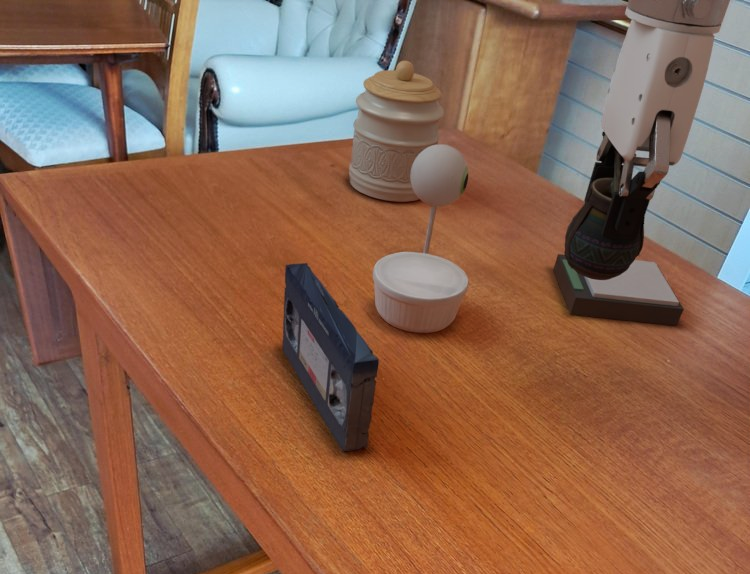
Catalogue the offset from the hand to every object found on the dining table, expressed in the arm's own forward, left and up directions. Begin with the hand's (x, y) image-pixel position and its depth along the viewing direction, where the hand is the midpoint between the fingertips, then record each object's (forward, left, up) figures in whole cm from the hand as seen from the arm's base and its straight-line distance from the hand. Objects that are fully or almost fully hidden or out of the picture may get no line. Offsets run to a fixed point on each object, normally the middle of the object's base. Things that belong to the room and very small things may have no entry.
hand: (609, 220), depth 74 cm
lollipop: (+13, -26, -19) cm, 35 cm away
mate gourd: (0, 0, -5) cm, 5 cm away
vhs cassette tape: (+25, +6, -19) cm, 32 cm away
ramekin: (+15, -12, -19) cm, 27 cm away
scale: (-12, -22, -19) cm, 31 cm away
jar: (+17, -51, -19) cm, 57 cm away
